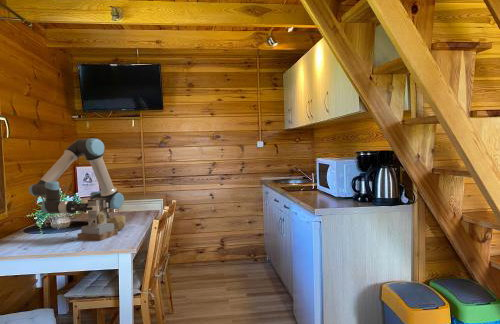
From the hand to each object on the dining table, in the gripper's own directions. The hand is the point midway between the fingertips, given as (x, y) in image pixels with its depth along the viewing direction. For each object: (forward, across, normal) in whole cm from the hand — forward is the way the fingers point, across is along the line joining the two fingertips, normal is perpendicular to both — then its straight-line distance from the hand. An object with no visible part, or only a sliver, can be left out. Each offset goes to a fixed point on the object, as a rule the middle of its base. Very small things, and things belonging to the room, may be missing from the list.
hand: (103, 206), depth 215 cm
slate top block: (-4, 0, -15) cm, 16 cm away
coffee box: (-4, 0, -12) cm, 12 cm away
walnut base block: (-4, 0, -19) cm, 20 cm away
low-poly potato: (-1, -18, -19) cm, 26 cm away
